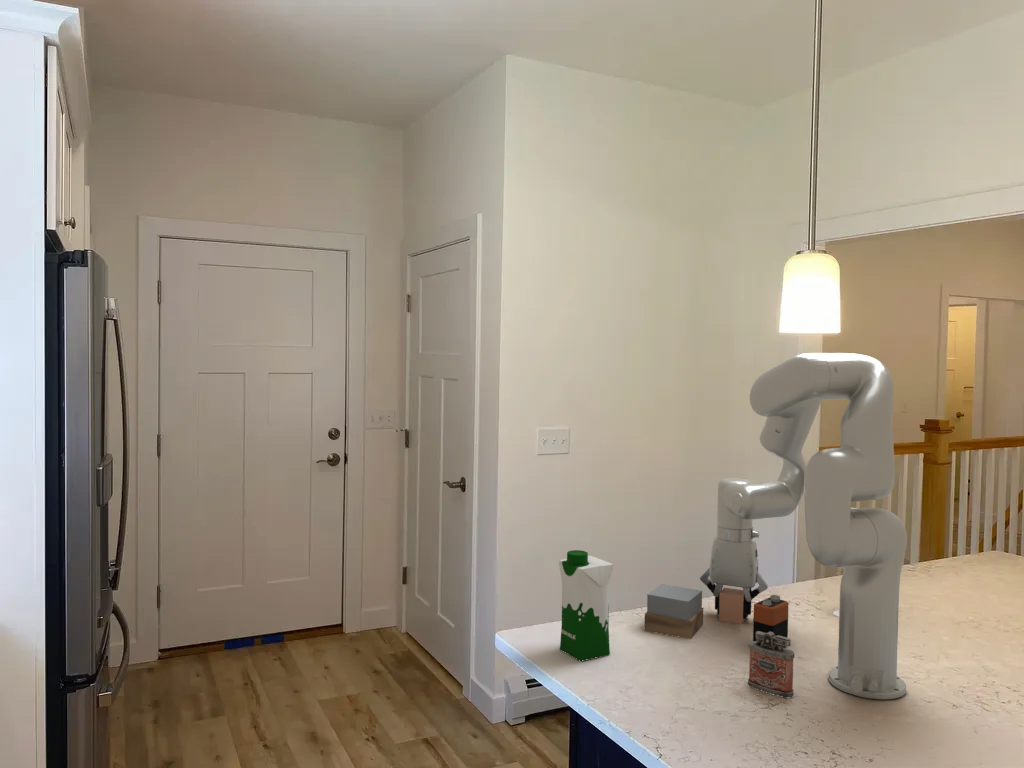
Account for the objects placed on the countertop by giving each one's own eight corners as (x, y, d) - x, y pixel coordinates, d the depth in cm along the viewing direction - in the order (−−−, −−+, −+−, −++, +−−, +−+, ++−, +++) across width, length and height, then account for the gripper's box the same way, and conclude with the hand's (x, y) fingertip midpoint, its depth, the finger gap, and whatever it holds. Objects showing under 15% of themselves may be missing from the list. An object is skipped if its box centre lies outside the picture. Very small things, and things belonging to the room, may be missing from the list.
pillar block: (742, 623, 171) (742, 596, 170) (719, 620, 173) (719, 593, 173) (746, 616, 175) (746, 590, 175) (723, 613, 177) (724, 587, 177)
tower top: (688, 620, 162) (688, 601, 161) (647, 612, 166) (647, 594, 166) (701, 609, 169) (702, 590, 169) (662, 601, 174) (662, 584, 174)
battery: (788, 646, 158) (789, 597, 157) (772, 654, 153) (773, 604, 153) (768, 640, 161) (769, 592, 160) (751, 648, 156) (752, 599, 156)
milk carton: (553, 649, 155) (554, 549, 154) (590, 641, 159) (591, 543, 159) (579, 664, 147) (580, 559, 146) (617, 655, 152) (618, 553, 151)
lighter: (744, 686, 138) (745, 630, 138) (753, 680, 141) (754, 625, 140) (788, 700, 133) (790, 642, 132) (796, 693, 135) (798, 636, 135)
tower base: (691, 640, 161) (691, 621, 161) (644, 632, 166) (644, 613, 166) (703, 626, 170) (703, 607, 170) (658, 618, 175) (658, 600, 174)
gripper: (777, 535, 173) (775, 616, 174) (699, 526, 180) (698, 604, 181) (772, 542, 166) (770, 626, 167) (692, 533, 174) (690, 614, 174)
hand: (732, 614), depth 174 cm, fingers closed on pillar block, 4 cm apart
